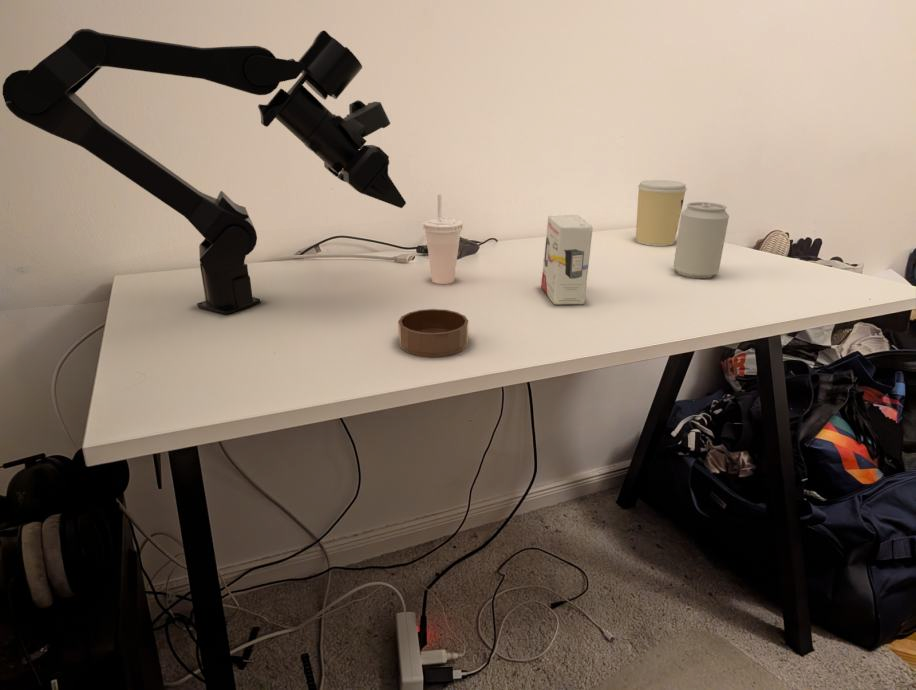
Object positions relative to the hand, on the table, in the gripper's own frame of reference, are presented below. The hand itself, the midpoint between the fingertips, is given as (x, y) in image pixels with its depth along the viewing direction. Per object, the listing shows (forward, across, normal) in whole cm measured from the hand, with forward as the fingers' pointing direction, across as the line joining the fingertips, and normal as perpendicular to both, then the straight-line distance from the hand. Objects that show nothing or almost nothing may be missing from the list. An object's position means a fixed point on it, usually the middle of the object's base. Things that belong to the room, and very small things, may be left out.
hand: (394, 200), depth 92 cm
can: (+46, -11, -25) cm, 54 cm away
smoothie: (+16, 0, +4) cm, 16 cm away
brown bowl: (+8, -24, +12) cm, 28 cm away
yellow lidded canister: (+52, +11, -31) cm, 62 cm away
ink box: (+26, -14, -6) cm, 30 cm away
